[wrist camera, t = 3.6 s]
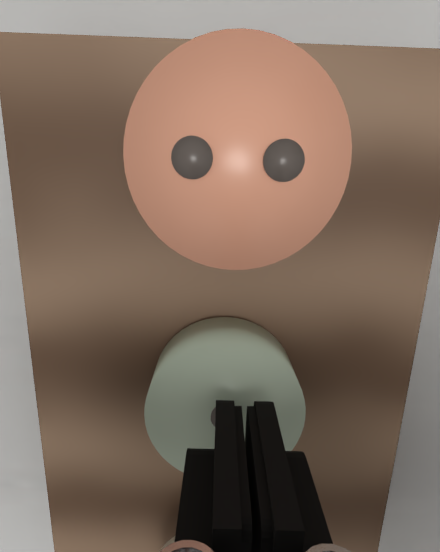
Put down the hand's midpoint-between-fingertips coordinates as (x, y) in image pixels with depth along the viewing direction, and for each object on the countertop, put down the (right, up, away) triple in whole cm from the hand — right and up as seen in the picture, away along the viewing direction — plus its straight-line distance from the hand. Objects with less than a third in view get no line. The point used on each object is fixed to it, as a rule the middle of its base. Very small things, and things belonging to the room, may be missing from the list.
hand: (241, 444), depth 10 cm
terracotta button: (0, +8, -1) cm, 8 cm away
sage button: (0, +1, +3) cm, 3 cm away
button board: (-1, +2, +6) cm, 6 cm away
